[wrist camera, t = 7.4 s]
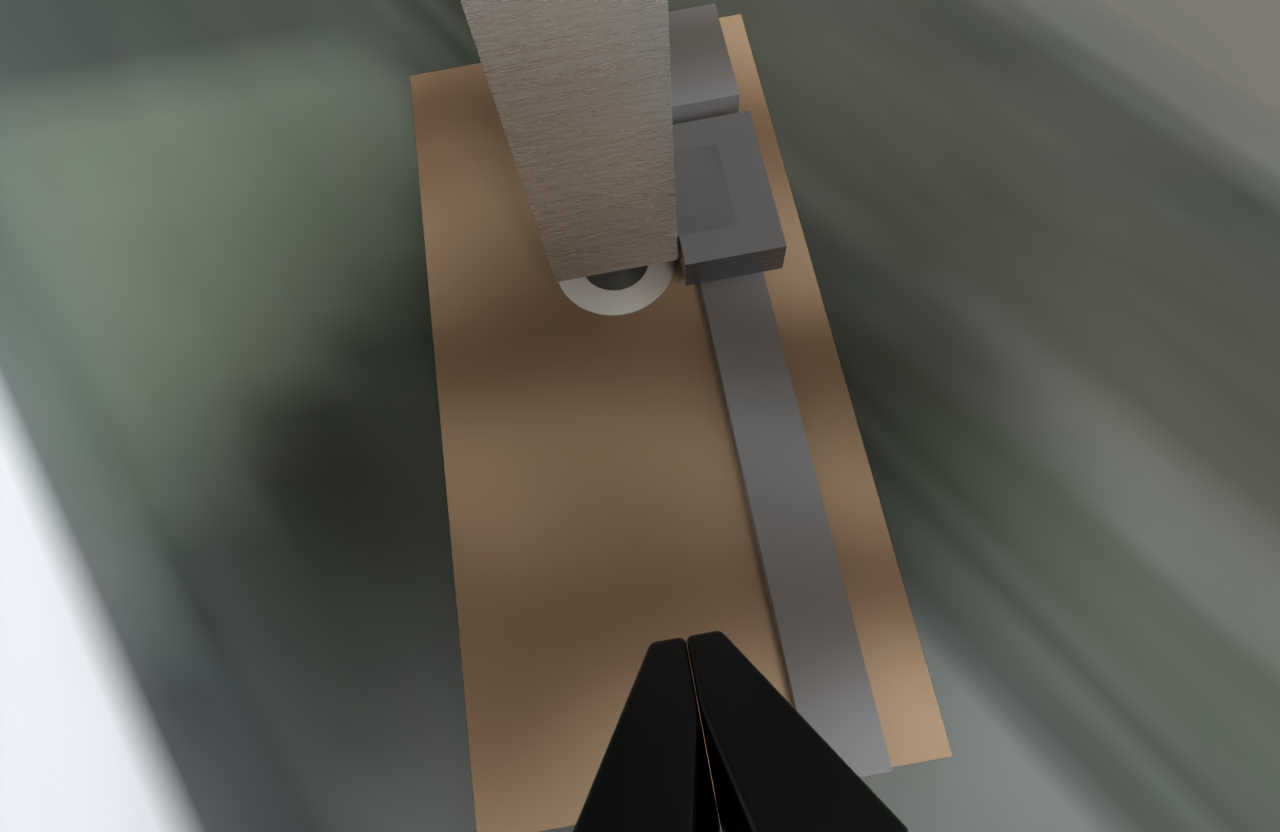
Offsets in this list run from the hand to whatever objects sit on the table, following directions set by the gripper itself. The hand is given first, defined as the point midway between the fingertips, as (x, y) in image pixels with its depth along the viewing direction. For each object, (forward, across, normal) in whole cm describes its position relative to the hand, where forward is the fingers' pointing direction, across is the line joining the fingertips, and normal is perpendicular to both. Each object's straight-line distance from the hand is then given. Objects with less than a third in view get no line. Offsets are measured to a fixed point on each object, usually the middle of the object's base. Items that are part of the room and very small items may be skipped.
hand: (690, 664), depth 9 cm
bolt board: (+12, 0, +1) cm, 12 cm away
